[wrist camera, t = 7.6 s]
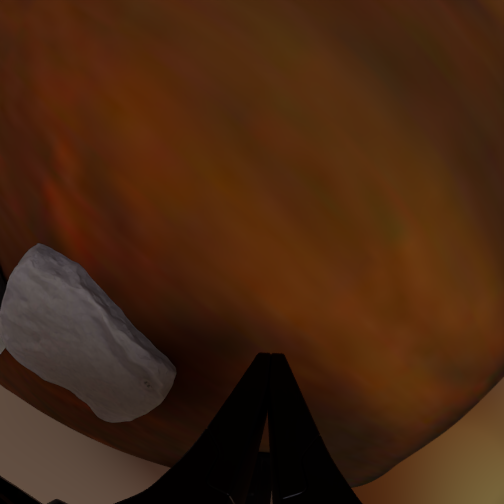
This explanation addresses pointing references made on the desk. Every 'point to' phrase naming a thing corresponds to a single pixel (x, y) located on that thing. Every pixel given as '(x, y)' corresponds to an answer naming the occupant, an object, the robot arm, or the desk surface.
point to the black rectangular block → (2, 289)
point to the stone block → (80, 338)
